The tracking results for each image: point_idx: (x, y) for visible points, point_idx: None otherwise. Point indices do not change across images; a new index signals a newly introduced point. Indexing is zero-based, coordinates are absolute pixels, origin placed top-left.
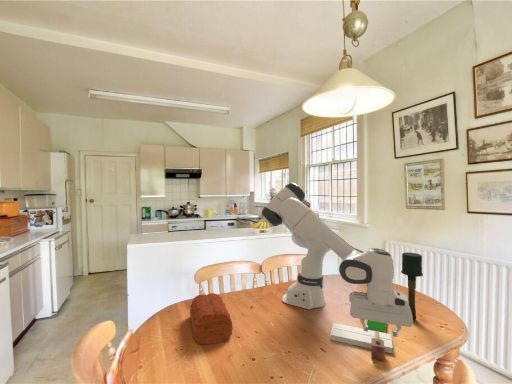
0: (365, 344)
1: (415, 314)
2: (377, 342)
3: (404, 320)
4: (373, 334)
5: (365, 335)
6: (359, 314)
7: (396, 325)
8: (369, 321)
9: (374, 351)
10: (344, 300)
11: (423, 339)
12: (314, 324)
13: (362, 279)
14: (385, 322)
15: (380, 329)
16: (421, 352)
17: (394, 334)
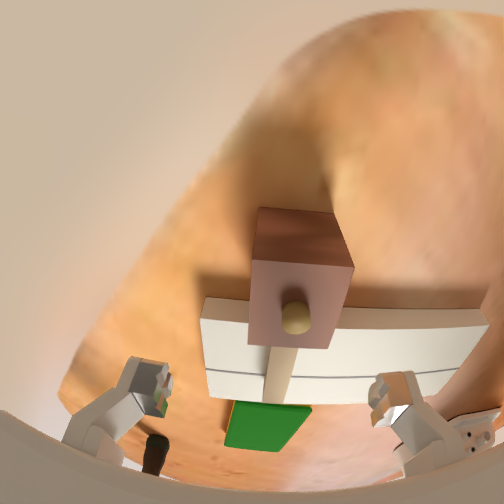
0: (346, 318)
1: (145, 449)
2: (299, 307)
3: (8, 474)
4: (288, 386)
5: (330, 373)
6: (495, 490)
7: (103, 448)
8: (286, 434)
9: (325, 238)
10: (334, 466)
11: (113, 382)
12: (483, 367)
13: None
14: (205, 495)
15: (250, 412)
16: (102, 325)
17: (145, 374)
